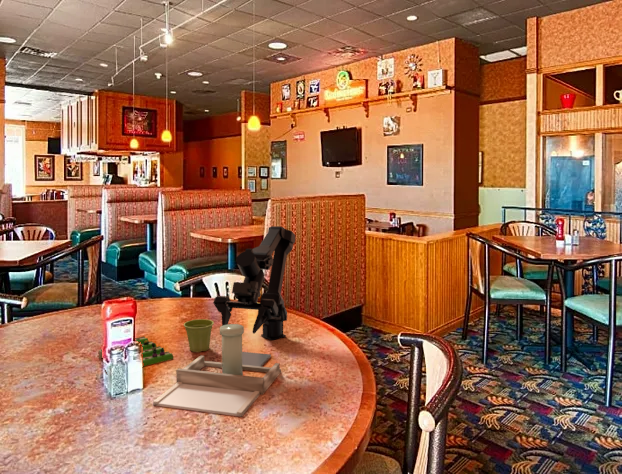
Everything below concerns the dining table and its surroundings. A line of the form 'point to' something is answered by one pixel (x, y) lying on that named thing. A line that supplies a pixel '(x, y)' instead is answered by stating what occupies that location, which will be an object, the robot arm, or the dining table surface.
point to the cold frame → (227, 376)
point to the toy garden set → (150, 352)
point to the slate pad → (254, 358)
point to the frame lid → (207, 399)
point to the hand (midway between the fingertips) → (238, 331)
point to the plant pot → (199, 334)
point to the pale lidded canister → (232, 348)
